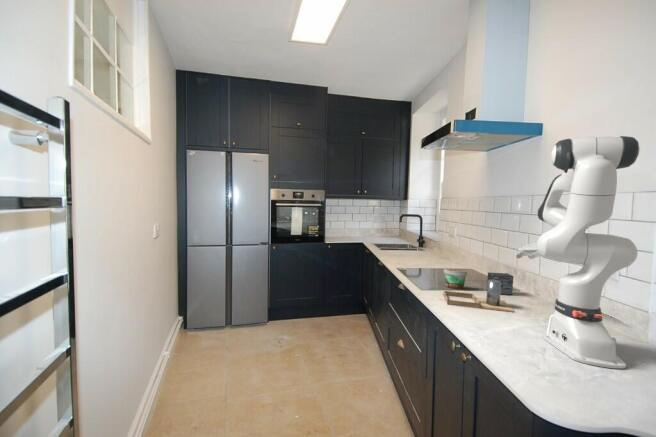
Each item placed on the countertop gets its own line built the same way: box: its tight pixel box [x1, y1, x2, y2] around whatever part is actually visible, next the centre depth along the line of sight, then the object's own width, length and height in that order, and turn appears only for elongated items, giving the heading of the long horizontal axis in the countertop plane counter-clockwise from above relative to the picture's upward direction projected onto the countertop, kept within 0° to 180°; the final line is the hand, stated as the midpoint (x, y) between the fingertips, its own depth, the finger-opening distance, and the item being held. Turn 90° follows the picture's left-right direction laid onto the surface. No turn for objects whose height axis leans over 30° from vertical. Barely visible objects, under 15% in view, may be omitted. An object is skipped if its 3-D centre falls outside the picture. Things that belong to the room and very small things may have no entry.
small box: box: [486, 272, 514, 296], centre depth 152 cm, size 11×6×10 cm, turn 84°
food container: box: [443, 268, 468, 291], centre depth 157 cm, size 12×6×10 cm, turn 71°
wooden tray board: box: [442, 290, 516, 313], centre depth 136 cm, size 14×28×2 cm, turn 76°
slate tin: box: [485, 280, 501, 306], centre depth 134 cm, size 6×6×11 cm
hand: (523, 257), depth 129 cm, fingers open, 8 cm apart
